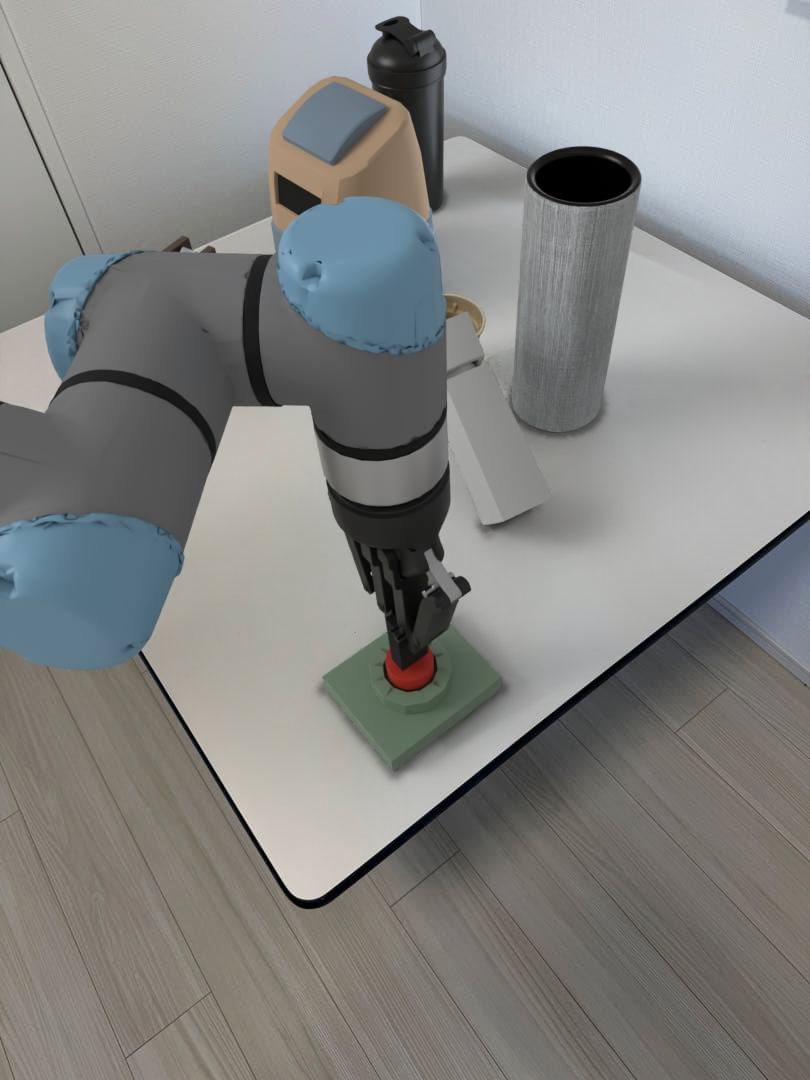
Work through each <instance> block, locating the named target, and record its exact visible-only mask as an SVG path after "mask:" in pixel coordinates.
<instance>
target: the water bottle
mask: <svg viewBox="0 0 810 1080" xmlns="http://www.w3.org/2000/svg"><path fill="white" fill-rule="evenodd" d="M374 29H375V30H376V31H378V32H381V36H380V37H378V38H377V39H376V40H375V41H374V43H373V44H372V46H371V48H370V51H369V52H368V53H367V56H366V67H367V75H368V79H369V81H370V82H371V89H372V90H374V91H377V92H379V93H381V94H383V95H385V96H387V97H389V98H392V99H394V100H396V101H398V102H400V103H401V104H402V105H403V106H404V107H405V108H406V109H407V110H408V111H409V113H410V116H411V120H412V123H413V127H414V130H415V134H416V137H417V141H418V144H419V148H420V151H421V157H422V163H423V169H424V176H425V182H426V188H427V194H428V201H429V207H430V208H431V209H432V213H434V212H435V211H437V210H438V209H439V208H440V207H441V206H442V205H443V202H444V165H445V163H444V158H445V157H444V155H445V154H444V152H445V151H444V149H445V148H444V147H445V146H444V145H445V144H444V143H445V142H444V141H445V139H444V137H445V76H446V74H447V68H448V59H447V58H448V57H447V56H448V55H447V50H446V49H445V47H444V46H443V45H442V43H441V41H440V40H439V39H438V38H437V36H436V33H435V32H434V31H433V30H432V29H426V30H424V29H420V28H418V27H417V26H415V25H414V24H412V22H411V21H410V19H409V18H408V17H407V16H404V15H397V16H392V17H391V18H388V19H386V20H382V21H381V22H379V23H377V24H376V25H374Z"/></svg>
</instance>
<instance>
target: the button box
mask: <svg viewBox="0 0 810 1080" xmlns="http://www.w3.org/2000/svg"><path fill="white" fill-rule="evenodd" d="M428 646H429V648H430V649H431V651H432V653H433V660H434V673H433V676H432V678H431V680H430V681H429V682H428V683H427V684H426V685H425V686H423V687H421V688H419V689H416V690H404V689H401V688H398V687H397V686H395V685H394V684H393V683H392V682H391V681H390V679H389V677H388V674H387V668H386V661H385V660H386V654H387V652H388V650H389V649H390V645H389V639H388V633H387V631H385V632H384V633H382V634H381V635H380V636H378V637H377V638H375V639H373V640H372V641H371V642H369V643H368V644H367V645H365V646H363V648H361V649H359V650H358V651H357V652H356V653H354V654H352V655H351V656H349V657H348V658H347V659H346V660H344V661H342V662H341V663H339V664H338V665H337V666H335V667H334V668H332V669H331V670H330V671H328V672H327V673H325V674H324V675H323V676H322V677H321V678H322V681H323V684H324V685H323V686H324V688H325V690H326V691H327V692H328V693H329V695H330V696H331V697H332V698H333V700H334V701H335V702H336V703H337V704H338V706H339V707H340V708H341V710H342V711H343V712H344V713H345V715H346V716H348V718H349V719H350V720H351V722H352V723H353V724H354V725H355V727H356V728H357V729H358V731H359V732H360V733H361V734H362V736H363V737H364V738H365V739H366V740H367V742H368V743H369V744H370V746H371V747H372V748H373V749H374V750H375V752H376V753H377V754H378V755H379V756H380V758H381V759H382V760H383V761H384V763H385V764H386V765H387V766H388V768H389V769H390V771H392V772H393V773H394V772H395V771H397V770H398V769H399V768H401V767H402V766H403V765H404V764H406V763H407V762H408V761H409V760H411V759H412V758H413V757H415V756H416V755H417V754H419V753H420V752H421V751H423V750H424V749H425V748H427V747H428V746H429V745H431V744H432V743H433V742H434V741H435V740H437V739H438V738H439V737H440V736H442V735H443V734H444V733H446V732H447V731H448V730H450V729H451V728H453V727H454V726H455V725H457V724H458V723H459V722H460V721H461V720H463V719H464V718H465V717H466V716H468V715H469V714H470V713H471V712H473V711H474V710H475V709H477V708H478V707H479V706H481V705H483V703H485V702H486V701H487V700H488V699H490V698H491V697H492V696H494V694H496V693H497V692H499V691H500V690H501V689H502V682H503V676H502V675H501V674H500V673H499V672H498V671H497V670H496V669H495V668H494V667H493V666H492V665H491V664H490V663H489V661H487V660H486V659H485V657H483V655H482V654H480V652H479V651H478V650H477V649H476V648H474V646H473V645H472V644H471V643H470V642H469V641H468V640H467V639H466V638H465V637H464V636H463V634H461V633H460V632H459V631H458V630H457V628H455V627H454V626H453V625H452V624H451V623H450V625H449V628H448V630H447V631H445V632H444V633H442V634H441V635H440V636H439V637H437V638H436V639H434V640H433V641H432V642H430V643H429V644H428Z"/></svg>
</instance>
